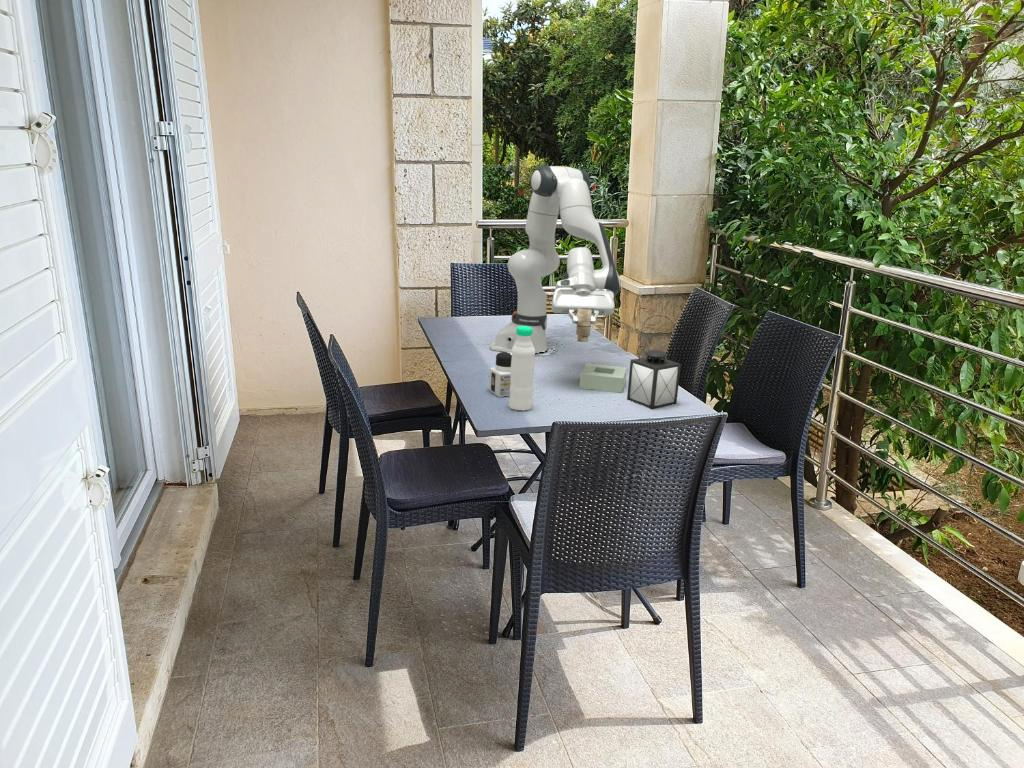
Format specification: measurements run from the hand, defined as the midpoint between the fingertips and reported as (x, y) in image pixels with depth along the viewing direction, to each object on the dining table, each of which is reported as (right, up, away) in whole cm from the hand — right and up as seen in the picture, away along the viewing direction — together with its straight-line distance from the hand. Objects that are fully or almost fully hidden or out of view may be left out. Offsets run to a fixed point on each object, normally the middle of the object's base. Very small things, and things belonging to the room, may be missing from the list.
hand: (584, 323), depth 255 cm
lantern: (+21, -25, -1) cm, 33 cm away
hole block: (+8, -20, +15) cm, 26 cm away
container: (-25, -22, +1) cm, 34 cm away
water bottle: (-20, -27, -13) cm, 36 cm away
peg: (0, -6, +2) cm, 6 cm away
